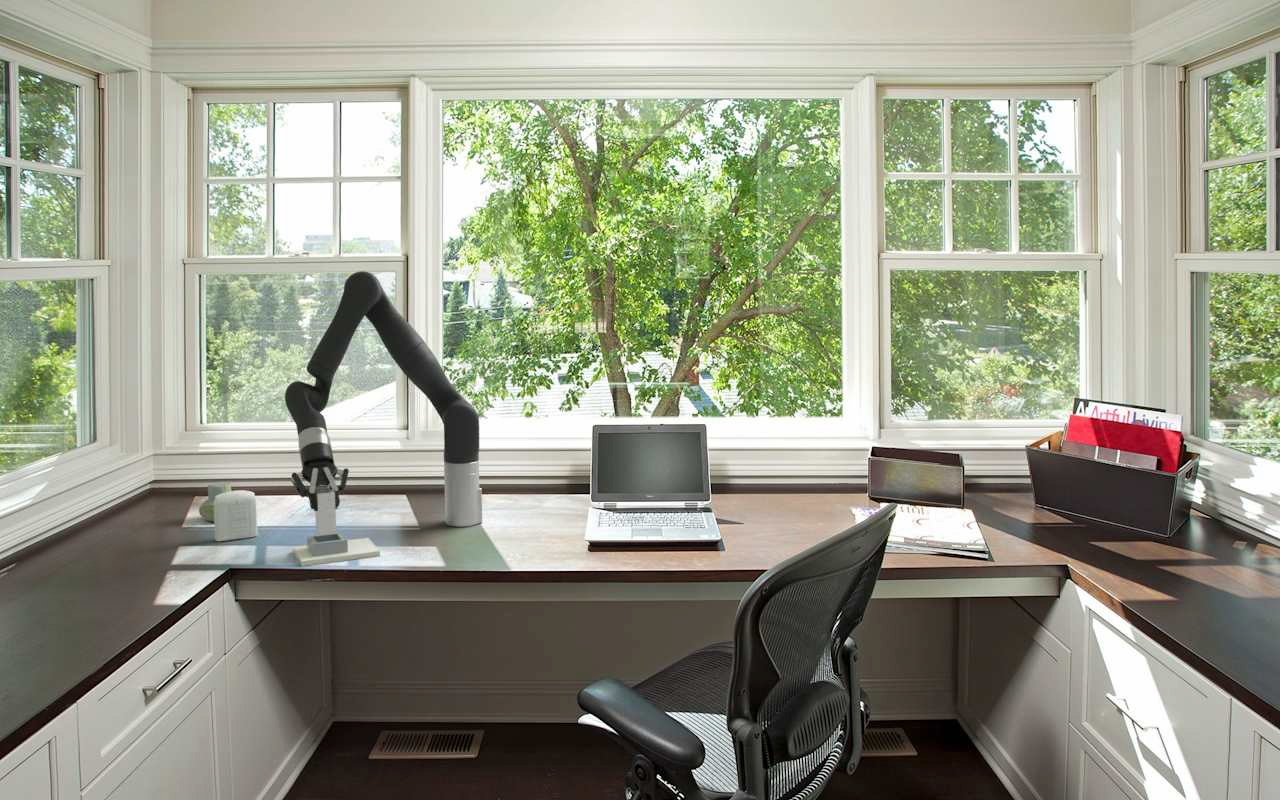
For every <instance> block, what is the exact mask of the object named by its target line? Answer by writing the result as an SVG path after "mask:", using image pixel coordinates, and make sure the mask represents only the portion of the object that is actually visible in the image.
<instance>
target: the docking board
mask: <svg viewBox="0 0 1280 800" xmlns="http://www.w3.org/2000/svg"><path fill="white" fill-rule="evenodd" d="M306 541H307V542H306V543H307V545H300V546H293V547H292V551H293V554H294V553H295V554H294V556H295V555H296V556H295V557H296V558H297V560H298V563H299V564H300V566H301V567H307V565H308V566H314V565H315V566H316V565H320V564H321V565H323V564H328V563H329V564H330V563H336V562H345V561H351V560H359V559H365V558H367V557H368V558H373V557H374V556H375V557H380V556H381V552H380V549H378V547H377V546H376V545H375V543H373V542H372V540H371V539H370V538H369V537H364V538H355V539H347V538H346V537H345V535H344V534H343V532H342V531H339V532H337V531H336V533H331V534H322V535H319V534H315V535H314V534H313V535H312V534H311V535H307V536H306Z"/></svg>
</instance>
